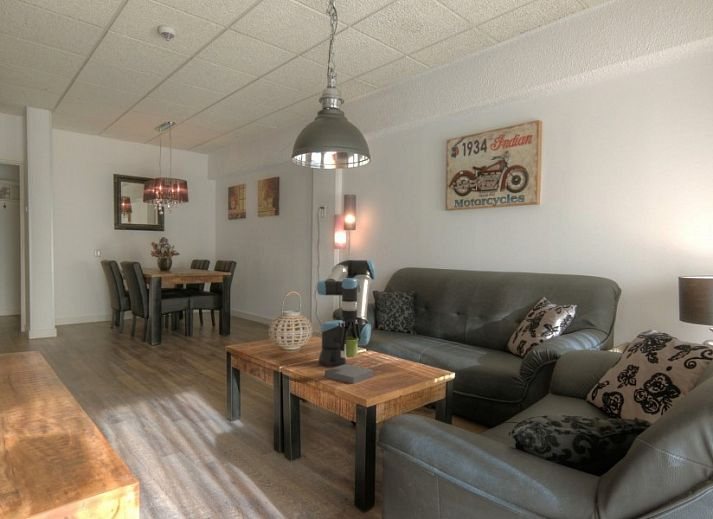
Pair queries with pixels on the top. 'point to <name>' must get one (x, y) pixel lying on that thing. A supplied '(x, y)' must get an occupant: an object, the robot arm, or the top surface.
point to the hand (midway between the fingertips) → (349, 355)
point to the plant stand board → (349, 373)
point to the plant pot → (351, 346)
